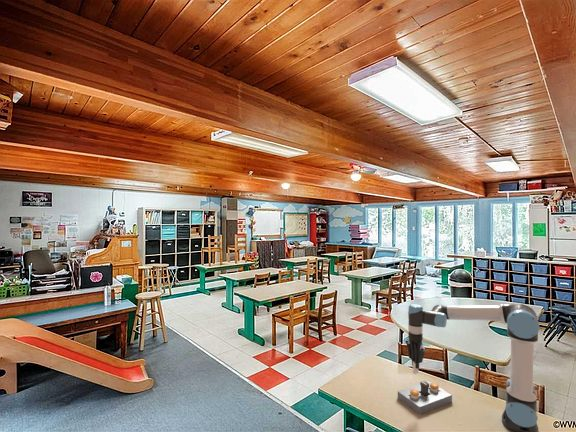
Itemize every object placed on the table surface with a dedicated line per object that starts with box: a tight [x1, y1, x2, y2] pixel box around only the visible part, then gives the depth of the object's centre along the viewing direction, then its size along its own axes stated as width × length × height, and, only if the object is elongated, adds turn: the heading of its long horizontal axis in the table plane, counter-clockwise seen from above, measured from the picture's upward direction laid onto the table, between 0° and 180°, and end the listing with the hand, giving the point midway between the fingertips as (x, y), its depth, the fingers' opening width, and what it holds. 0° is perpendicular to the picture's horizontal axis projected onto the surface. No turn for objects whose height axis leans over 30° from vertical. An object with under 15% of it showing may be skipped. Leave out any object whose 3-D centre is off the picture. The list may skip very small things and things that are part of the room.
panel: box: [397, 380, 453, 415], centre depth 178 cm, size 16×26×4 cm, turn 115°
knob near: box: [410, 389, 419, 400], centre depth 175 cm, size 5×5×7 cm
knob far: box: [430, 382, 440, 393], centre depth 182 cm, size 5×5×7 cm
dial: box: [419, 380, 429, 396], centre depth 178 cm, size 5×5×7 cm
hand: (415, 372), depth 174 cm, fingers closed
